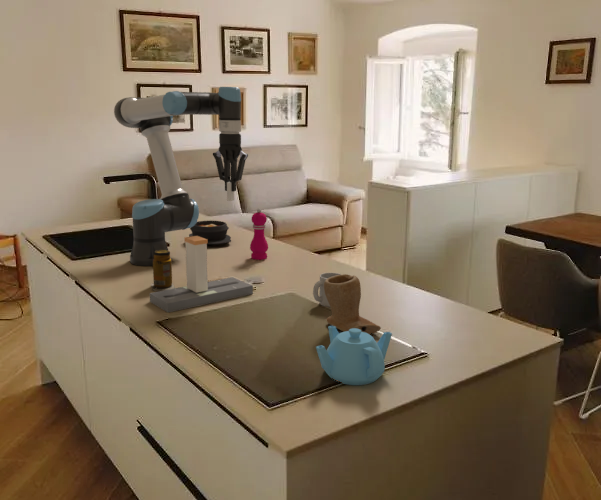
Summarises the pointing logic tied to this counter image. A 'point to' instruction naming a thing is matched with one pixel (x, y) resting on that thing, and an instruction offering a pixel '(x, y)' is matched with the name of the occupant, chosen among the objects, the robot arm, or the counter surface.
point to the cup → (322, 289)
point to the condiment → (162, 271)
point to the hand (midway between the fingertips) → (230, 200)
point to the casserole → (211, 231)
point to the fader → (196, 263)
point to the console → (200, 294)
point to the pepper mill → (259, 236)
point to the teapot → (354, 356)
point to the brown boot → (346, 304)
